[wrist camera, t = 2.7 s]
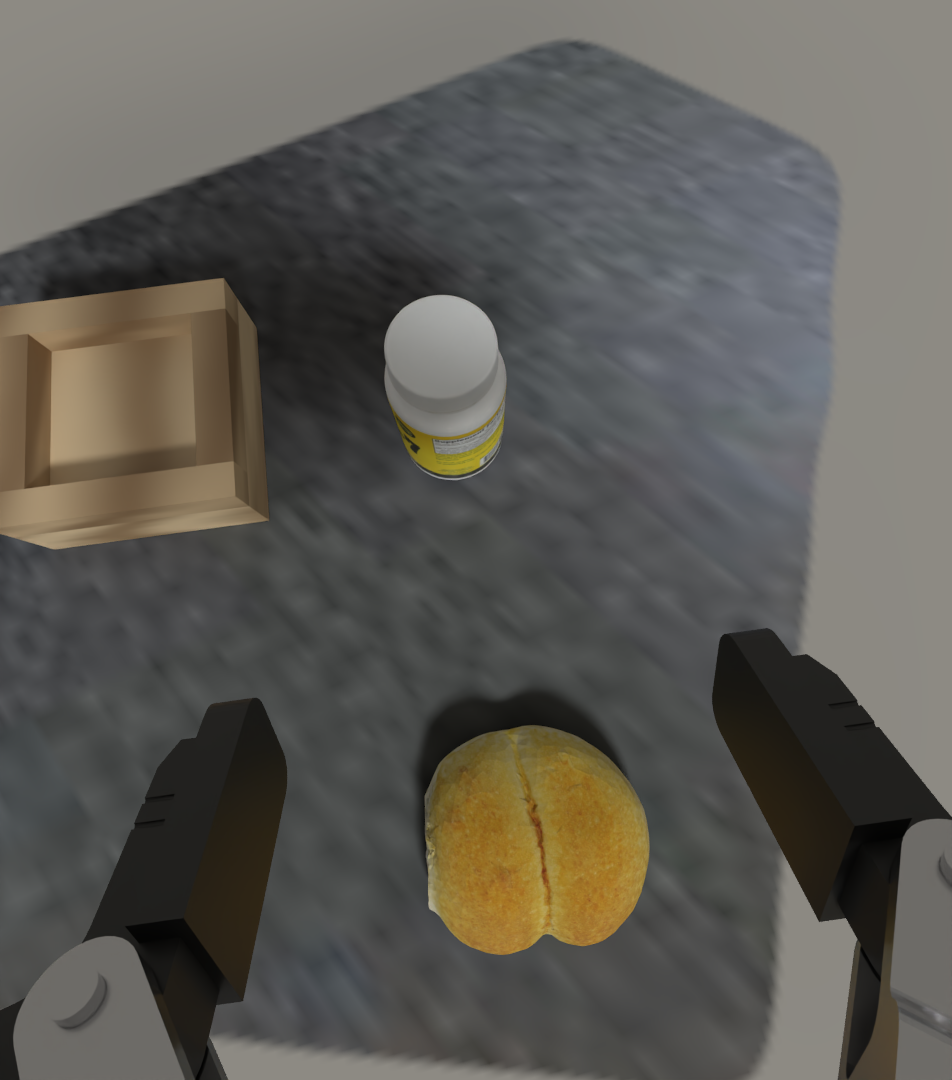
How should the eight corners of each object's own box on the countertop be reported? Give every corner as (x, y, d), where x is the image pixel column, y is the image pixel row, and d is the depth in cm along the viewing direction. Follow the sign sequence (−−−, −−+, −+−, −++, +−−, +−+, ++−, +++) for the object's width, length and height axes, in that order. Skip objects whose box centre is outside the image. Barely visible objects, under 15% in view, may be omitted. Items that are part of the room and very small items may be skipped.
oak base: (54, 549, 29) (-14, 529, 25) (56, 353, 31) (-7, 307, 27) (269, 520, 29) (235, 496, 25) (256, 327, 31) (223, 277, 27)
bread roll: (652, 923, 25) (684, 969, 21) (433, 944, 25) (424, 994, 21) (624, 713, 27) (648, 720, 23) (419, 732, 27) (408, 742, 23)
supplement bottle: (394, 401, 30) (359, 298, 22) (488, 379, 30) (490, 268, 22) (416, 493, 29) (388, 421, 21) (513, 470, 29) (524, 389, 21)
